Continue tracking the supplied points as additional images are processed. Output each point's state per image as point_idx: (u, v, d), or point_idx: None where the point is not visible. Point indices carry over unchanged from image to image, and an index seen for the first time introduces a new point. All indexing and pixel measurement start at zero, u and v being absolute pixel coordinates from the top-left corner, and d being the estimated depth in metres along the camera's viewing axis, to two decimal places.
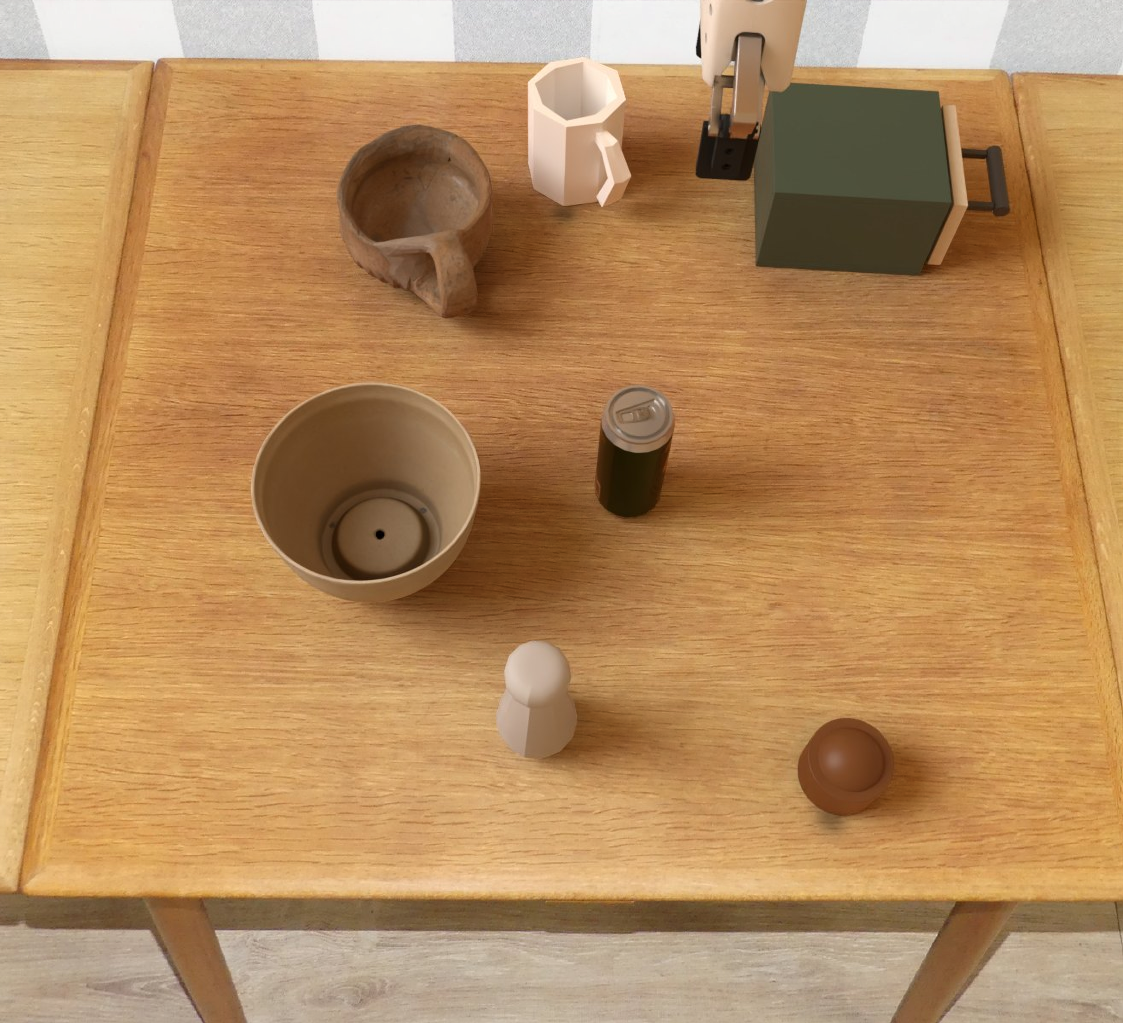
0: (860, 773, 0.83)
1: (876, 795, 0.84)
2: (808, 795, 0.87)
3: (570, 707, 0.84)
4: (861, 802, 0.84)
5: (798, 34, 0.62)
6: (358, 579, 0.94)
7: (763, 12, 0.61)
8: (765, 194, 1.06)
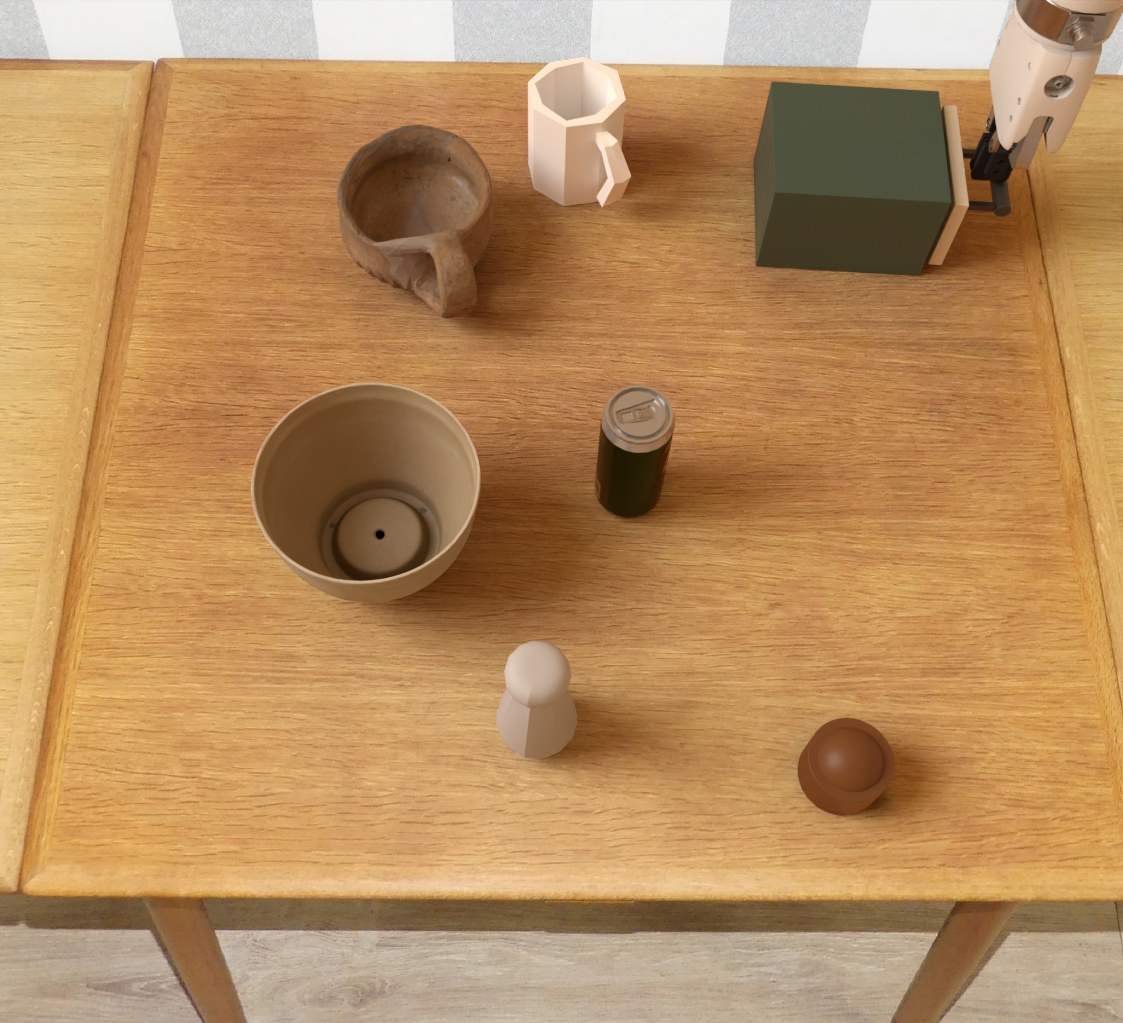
0: (860, 773, 0.83)
1: (876, 795, 0.84)
2: (808, 795, 0.87)
3: (570, 707, 0.84)
4: (861, 802, 0.84)
5: None
6: (358, 579, 0.94)
7: (1057, 104, 0.92)
8: (765, 194, 1.06)
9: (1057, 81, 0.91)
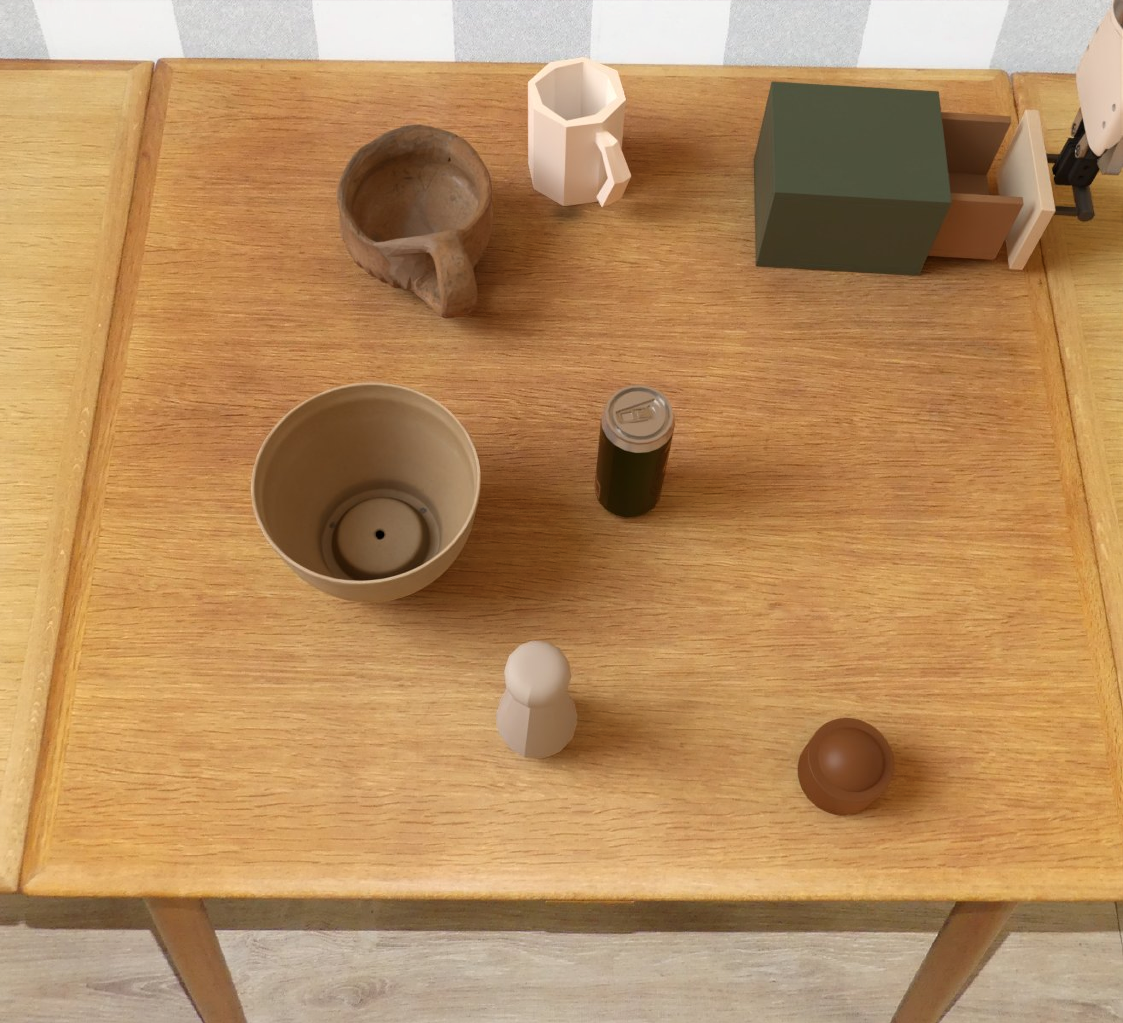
0: (860, 773, 0.83)
1: (876, 795, 0.84)
2: (808, 795, 0.87)
3: (570, 707, 0.84)
4: (861, 802, 0.84)
5: None
6: (358, 579, 0.94)
7: None
8: (765, 194, 1.06)
9: None
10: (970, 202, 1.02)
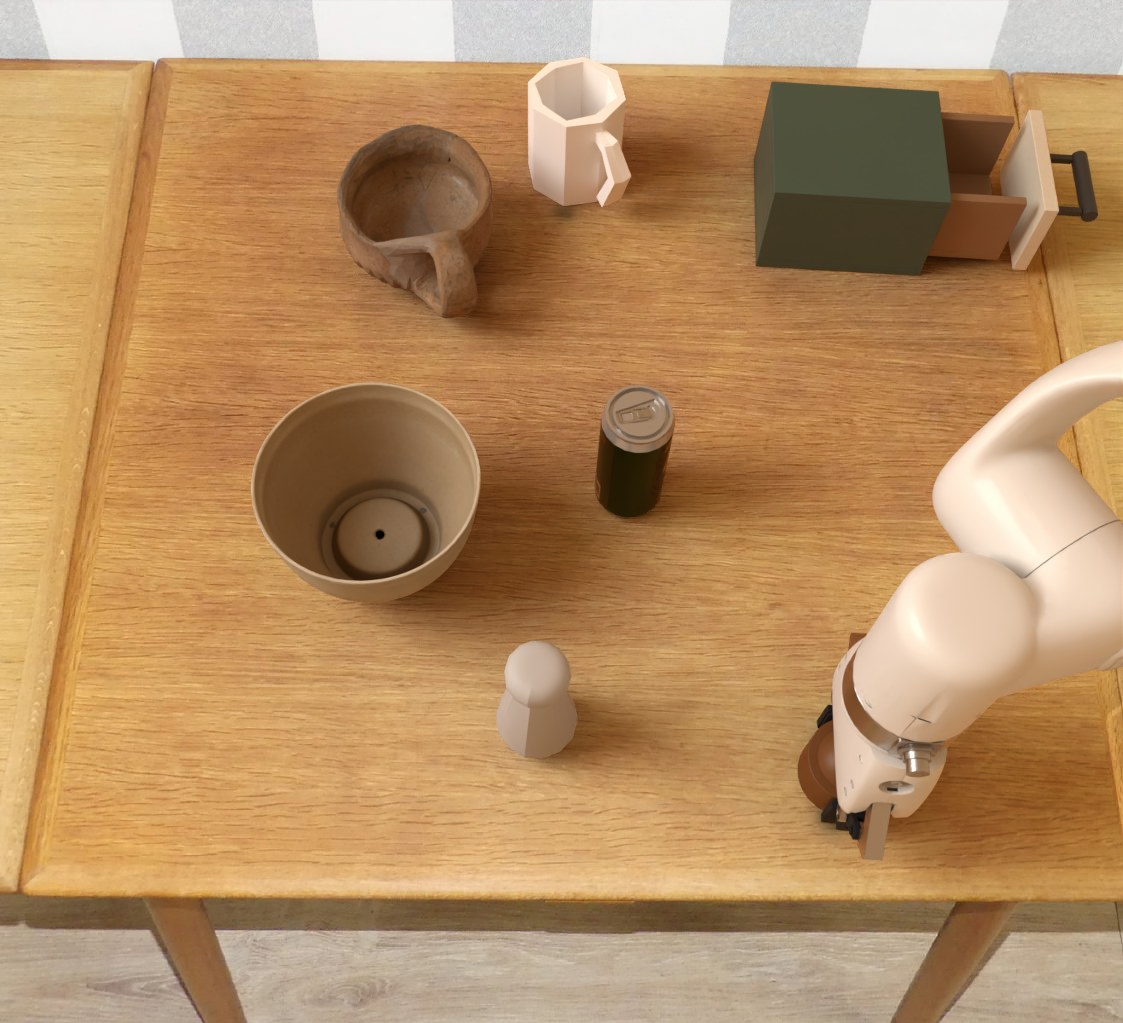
0: None
1: None
2: (808, 795, 0.87)
3: (570, 707, 0.84)
4: None
5: (923, 801, 0.76)
6: (358, 579, 0.94)
7: (897, 797, 0.74)
8: (765, 194, 1.06)
9: (894, 781, 0.73)
10: (973, 202, 1.02)
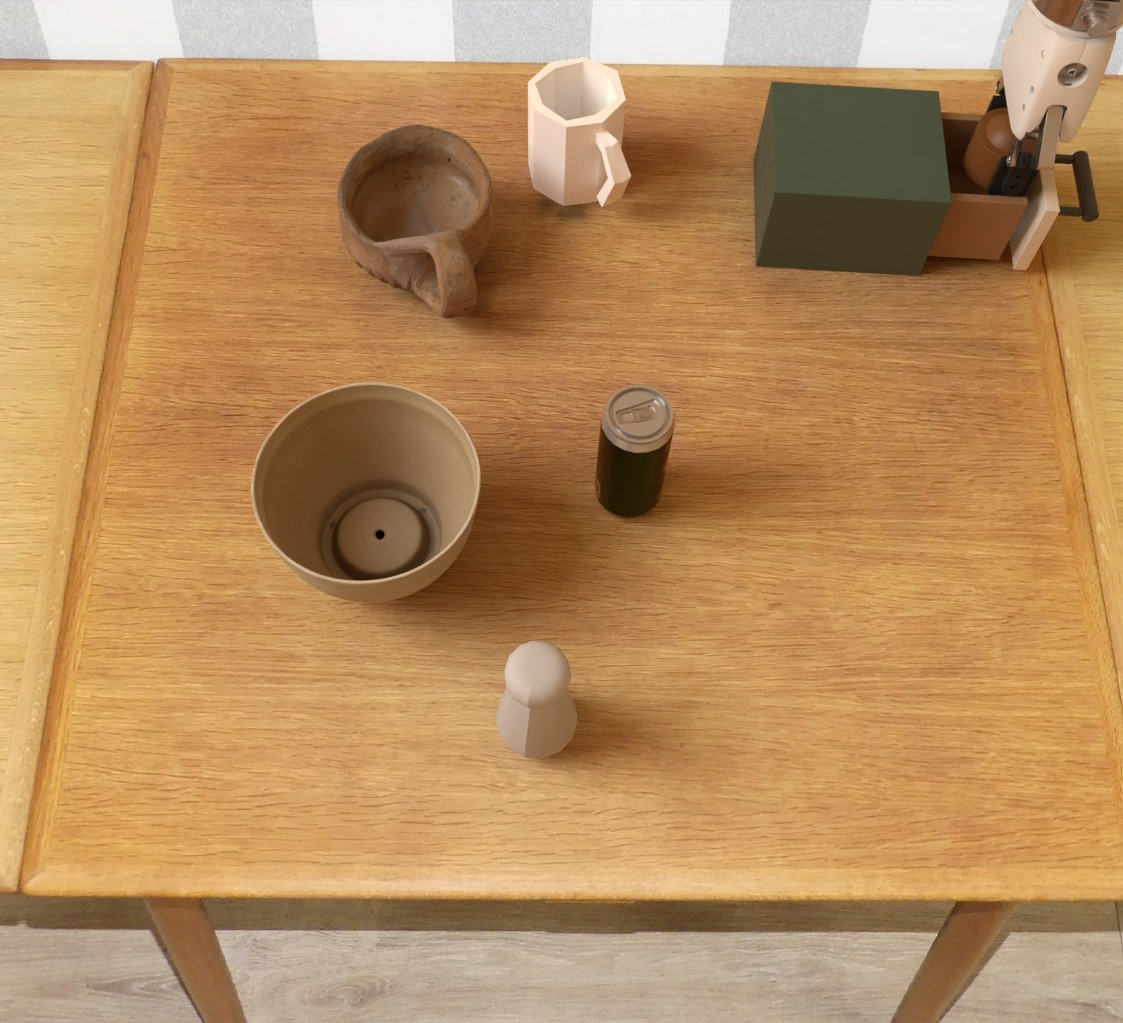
0: None
1: None
2: (974, 177, 1.04)
3: (570, 707, 0.84)
4: None
5: None
6: (358, 579, 0.94)
7: (1070, 92, 0.91)
8: (765, 194, 1.06)
9: (1071, 69, 0.90)
10: (974, 202, 1.02)
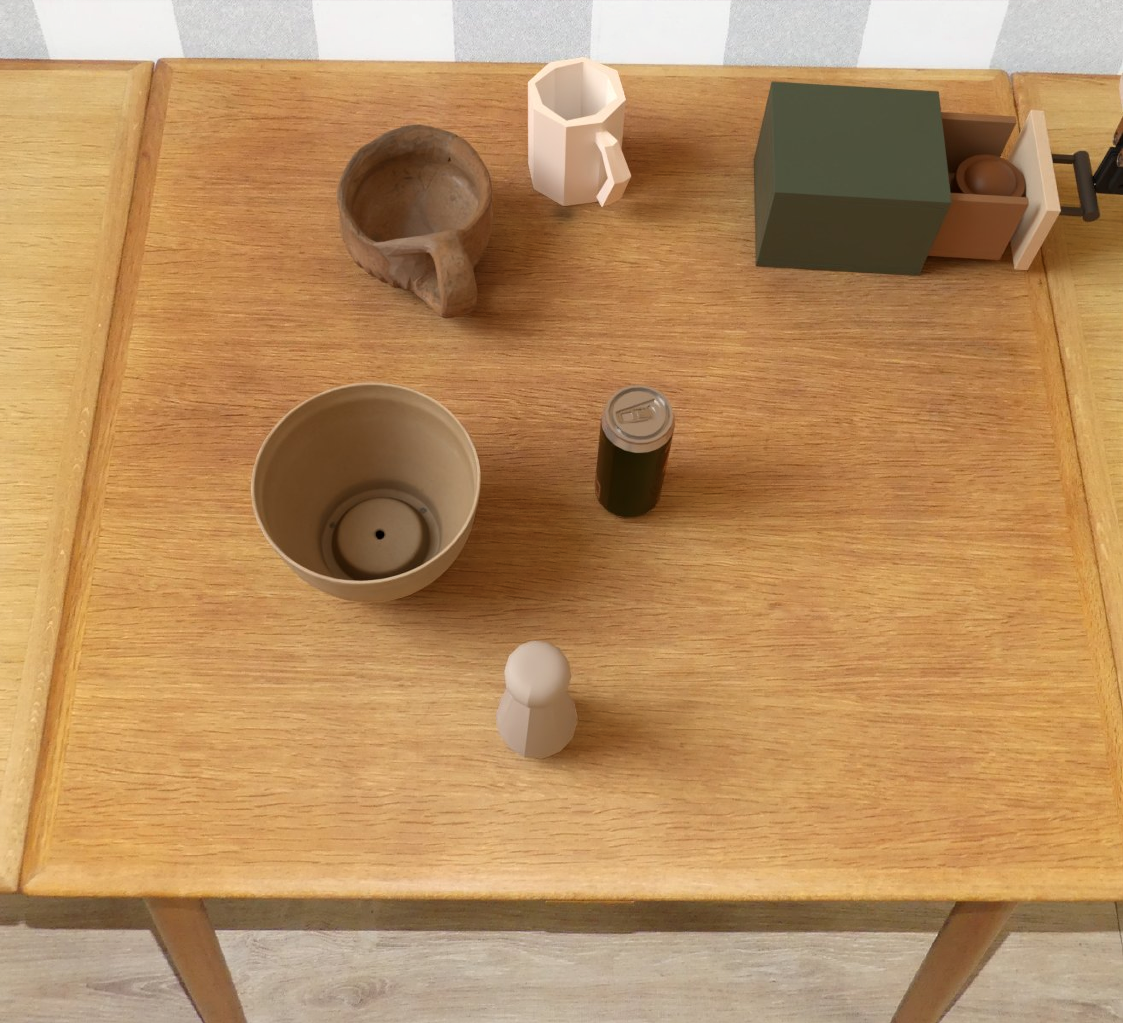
0: (1000, 183, 1.05)
1: None
2: None
3: (570, 707, 0.84)
4: None
5: None
6: (358, 579, 0.94)
7: None
8: (765, 194, 1.06)
9: None
10: (975, 202, 1.02)
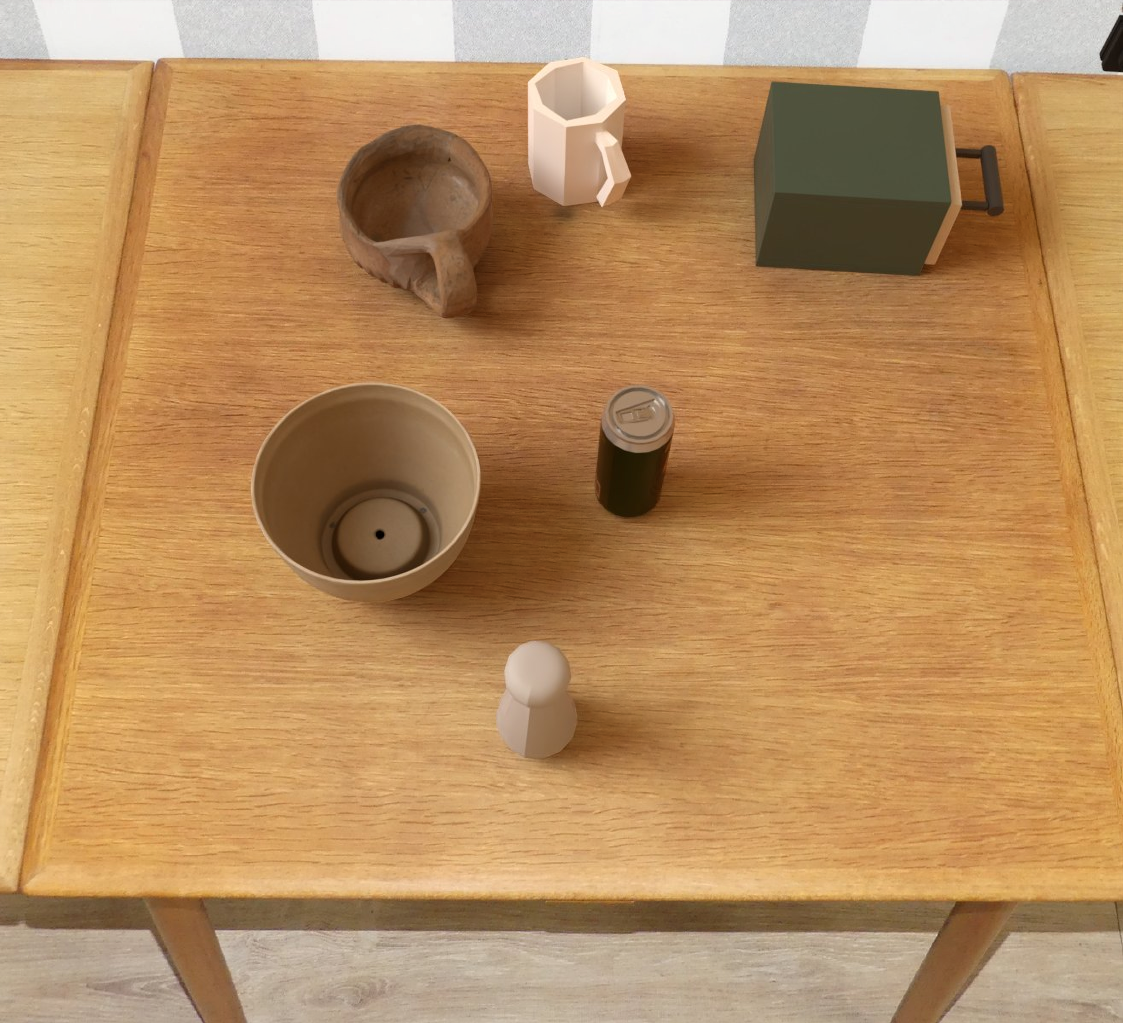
0: None
1: None
2: None
3: (570, 707, 0.84)
4: None
5: None
6: (358, 579, 0.94)
7: None
8: (765, 194, 1.06)
9: None
10: None
